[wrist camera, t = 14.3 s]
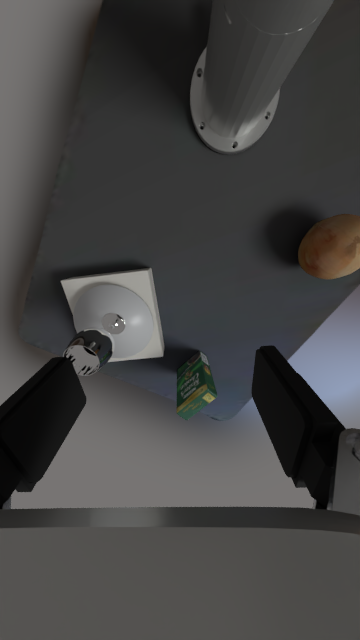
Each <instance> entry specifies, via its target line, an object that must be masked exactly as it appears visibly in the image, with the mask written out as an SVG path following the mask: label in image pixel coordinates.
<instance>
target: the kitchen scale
mask: <svg viewBox="0 0 360 640" xmlns="http://www.w3.org/2000/svg"><path fill="white" fill-rule="evenodd" d="M61 284H62V286H63V289H64V292H65V295H66V298H67V300H68V303H69V306H70V309H71V311H72V314H73V321H74V326H75V329H76V331H77V334H78V333H79V332H80V331H82V330H84V329H86V328H89V327H100V328H103V326H102V319H103V317H104V316H105V315H106V314H108V313H116V314H119V315H120V316H121V317H122V318H123V319H124V321H125V324H126V326H125V329H124V331H123V332H122V333H120V334H116V335H114V334H111V335H112V336H113V338H114V341H115V349H114V352H113V355H112V356H111V358H110V360H109V361H108V362H112V361H123V360H134V359H144V358H155V357H163V354H164V348H165V346H164V340H163V335H162V329H161V323H160V317H159V311H158V305H157V299H156V293H155V287H154V281H153V275H152V269H151V268H146V269H137V270H129V271H121V272H112V273H104V274H95V275H87V276H79V277H72V278H68V279H65V280H61ZM103 329H104V328H103Z"/></svg>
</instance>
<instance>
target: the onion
mask: <svg viewBox="0 0 360 640" xmlns="http://www.w3.org/2000/svg"><path fill="white" fill-rule="evenodd" d="M298 260H299V264H300V266H301V268H302V269H303V270H304V271H305V272H306V273H308V274H310V275H312V276H314V277H317V278H321V279H334V278H339V277H342V276H345V275H349V274H351V273H353V272H354V271H356V270H357V269H359V268H360V216H356V215H351V214H341V215H336V216H333V217H330V218H327V219H324V220H321V221H319V222H317V223H316V224H314V225H313V227H312V228H311V229H310V230H309V231H308V232H307V234H306V235H305V237H304V238H303V240H302V241H301V244H300V246H299V250H298Z"/></svg>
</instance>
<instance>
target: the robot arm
mask: <svg viewBox="0 0 360 640" xmlns="http://www.w3.org/2000/svg"><path fill="white" fill-rule="evenodd" d="M333 1H334V0H213V4H212V11H211V19H210V27H209V35H208V43H207V46H206V48H205V49H204V51H203V52H202V54H201V55H200V57H199V60H198V62H197V64H196V66H195V70H194V73H193V77H192V82H191V89H190V111H191V116H192V121H193V124H194V127H195V129H196V132H197V134H198V135H199V137H200V139H201V140H202V141H203V142H204V143H205V144H206V146H208V147H209V148H210V149H212V150H213V151H216V152H218V153H221V154H227V155H228V154H236V153H240V152H243V151H244V150H246V149H248V148H250V147H251V146H252V145H253V144H254V143H256V142H257V141H258V140H259V138H260V137H261V136H262V135H263V133H264V132H265V130H266V129H267V128H268V126H269V124H270V122H271V120H272V119H273V116H274V113H275V110H276V108H277V104H278V99H279V94H280V87H281V85H282V83H283V82H284V80H285V79H286V77H287V75H288V74H289V72H290V70H291V69H292V67H293V66H294V64H295V62H296V61H297V59H298V58H299V56H300V54H301V53H302V51H303V50H304V48H305V46H306V45H307V43H308V42H309V40H310V38H311V37H312V35H313V33H314V32H315V30H316V29H317V27H318V25H319V24H320V22H321V21H322V19H323V17H324V16H325V14H326V13H327V11H328V9H329V8H330V6H331V5H332V3H333ZM198 76H200V77H198ZM265 118H267V119H265ZM200 128H203V130H201V129H200ZM232 146H234V147H235V149H234V148H233V147H232ZM252 397H253V400H254V402H255V404H256V407H257V409H258V411H259V414H260V416H261V418H262V421H263V423H264V425H265V427H266V430H267V432H268V435H269V437H270V439H271V442H272V444H273V446H274V449H275V451H276V453H277V456H278V458H279V460H280V463H281V465H282V467H283V470H284V472H285V474H286V475H287V476H288V477H291V478H292V480H293V482H294V484H295V487H296V488H298V487H307V488H308V490H309V492H310V494H311V497H313V498H314V503H313V509H309V508H286V507H147V508H146V507H138V508H56V509H55V508H54V509H11V494H12V493H13V491H14V490H15V489H16V490H17V491H18V492H31V491H32V489H33V488H34V486H35V484H36V483H37V482H38V481H39V480H40V479H41V478H42V477H43V475H44V474H45V472H46V470H47V469H48V467H49V465H50V464H51V462H52V460H53V458H54V456H55V455H56V453H57V452H58V450H59V448H60V447H61V445H62V443H63V442H64V440H65V438H66V436H67V435H68V433H69V431H70V430H71V428H72V426H73V425H74V423H75V421H76V419H77V418H78V416H79V414H80V413H81V411H82V409H83V408H84V406H85V404H86V396H85V394H84V391H83V389H82V386H81V384H80V381H79V379H78V376H77V374H76V371H75V369H74V366H73V363H72V361H71V360H69V359H68V358H67V357H55V358H52V359H51V360H50V361H49V362H48V363H47V364H45V365H44V366H43V367H42V368H41V369H40V370H39V371H38V372H37V373H36V374H35V375H34V376H33V377H31V378H30V379H29V380H28V381H27V382H26V383H25V384H24V385H23V386H21V387H20V388H19V389H18V390H17V391H16V392H15V393H14V394H13V395H12V396H11V397H9V398H8V399H7V400H6V401H5V402H4V403H3V404H2V405H1V406H0V640H360V429H353V428H351V429H345V427H344V426H343V425H342V424H341V423H340V422H339V420H338V419H337V418H336V417H335V415H334V414H333V413H332V412H331V411H330V410H329V408H328V407H327V406H326V405H325V404H324V402H323V401H322V400H321V399H320V398H319V397H318V395H317V394H316V393H315V392H314V391H313V390H312V388H311V387H310V386H309V385H308V384H307V382H306V381H305V380H304V379H303V378H302V377H301V376H300V375H299V374H298V373H296V371H295V370H294V369H293V368H292V367H291V366H290V364H289V363H288V362H287V361H286V359H285V358H284V357H283V356H282V355H281V353H280V352H279V351H278V350H277V349H276V347H275V346H261V347H260V349H257V350H256V356H255V365H254V374H253V383H252Z"/></svg>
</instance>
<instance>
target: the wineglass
mask: <svg viewBox="0 0 360 640" xmlns="http://www.w3.org/2000/svg"><path fill="white" fill-rule="evenodd" d="M102 326H103V328H104V329H103V328H100V327H89V328H86V329H84V330H82V331H80V332H79V333H78V334H76V335H75V336H74V338H73V339H72V340H71V341H70V343H69V344H68V346H67V348H66V350H65V352H64V354H63V357H67V358H68V359H69V360H71V361H72V363H73V366H74V369H75V371H76V374H78V375H83V376H87V375H92V374H93V373H95V372H97V371H98V370H99V369H100V368H102V367H103V366H104V365H105V364H106V363H107V362H108V361H109V360H110V358H111V356H112V355H113V352H114V349H115V341H114V338H113V336H112V335H111V334H114V335H116V334H120V333H122V332H123V331H124V329H125V326H126V324H125V321H124V319H123V318H122V317H121V316H120V315H119V314H116V313H108V314H106V315H105V316H104V317H103V319H102Z"/></svg>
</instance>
